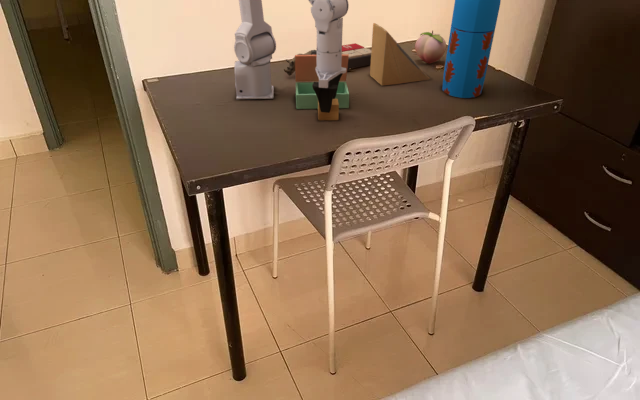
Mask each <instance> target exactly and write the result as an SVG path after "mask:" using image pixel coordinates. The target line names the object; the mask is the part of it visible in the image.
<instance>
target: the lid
mask: <svg viewBox="0 0 640 400" xmlns="http://www.w3.org/2000/svg"><path fill="white" fill-rule="evenodd" d="M310 51H311V55H297V54H295V55H294V57H295V71H294V73H295V74H294V75H295V78H294V79H295V83H296V82H319V78H318V76H317V73H316V67H317V49H311V50H310ZM348 58H349V54H342V61H341V67H343V68H346V73H343V74H342V76H341V78H340V81H339V82H347V76H348V71H347V68H348Z"/></svg>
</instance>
